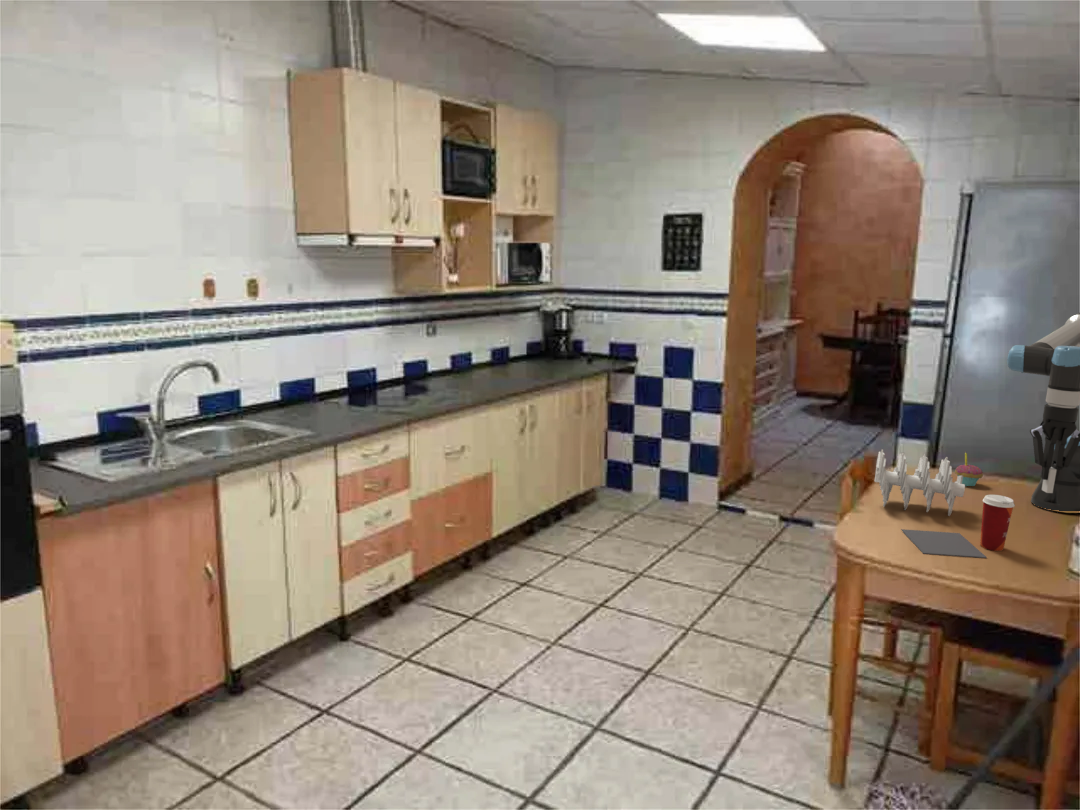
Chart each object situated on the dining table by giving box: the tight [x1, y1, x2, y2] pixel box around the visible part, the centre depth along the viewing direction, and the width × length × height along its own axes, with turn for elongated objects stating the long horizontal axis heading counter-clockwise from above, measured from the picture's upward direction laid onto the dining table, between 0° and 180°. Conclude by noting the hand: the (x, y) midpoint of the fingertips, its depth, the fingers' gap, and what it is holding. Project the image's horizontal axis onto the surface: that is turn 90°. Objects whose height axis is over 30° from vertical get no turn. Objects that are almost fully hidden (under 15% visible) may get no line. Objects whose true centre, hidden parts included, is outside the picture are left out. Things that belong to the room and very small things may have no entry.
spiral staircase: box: [874, 448, 966, 517], centre depth 247 cm, size 18×18×25 cm
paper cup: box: [979, 494, 1015, 552], centre depth 218 cm, size 8×8×14 cm
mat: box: [900, 528, 987, 559], centre depth 220 cm, size 16×18×1 cm
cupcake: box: [954, 450, 984, 487], centre depth 276 cm, size 9×8×12 cm
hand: (1047, 491), depth 214 cm, fingers closed
